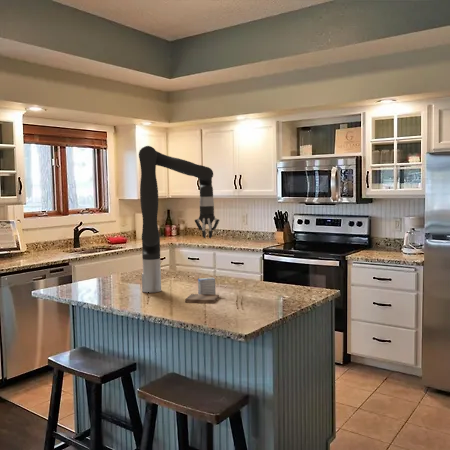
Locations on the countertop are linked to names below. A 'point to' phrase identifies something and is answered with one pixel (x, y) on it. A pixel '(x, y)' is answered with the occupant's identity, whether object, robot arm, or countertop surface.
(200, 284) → the medicine box
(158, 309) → the countertop surface
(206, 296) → the board
